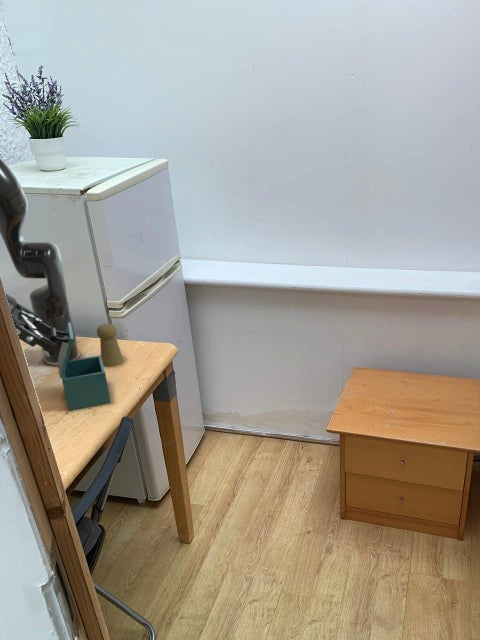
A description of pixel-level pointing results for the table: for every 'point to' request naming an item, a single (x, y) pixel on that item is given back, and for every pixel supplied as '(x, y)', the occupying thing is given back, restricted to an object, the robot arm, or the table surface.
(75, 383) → the teal square box
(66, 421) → the table surface
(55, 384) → the table surface
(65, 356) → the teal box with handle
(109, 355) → the olive pepper mill
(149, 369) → the table surface
